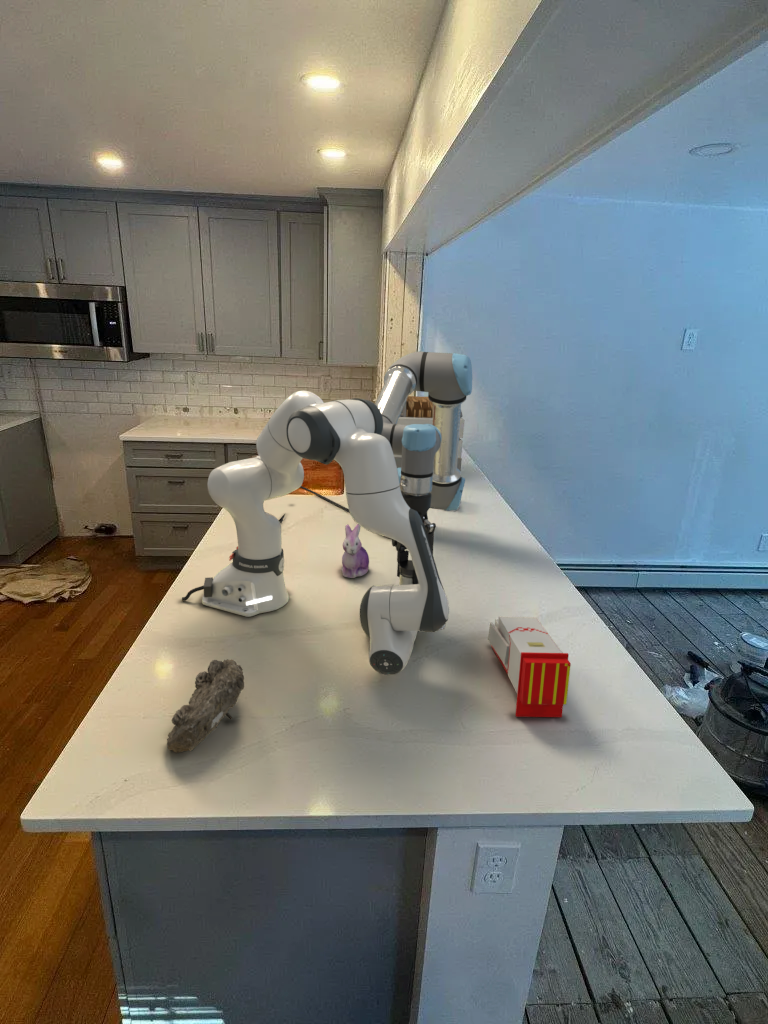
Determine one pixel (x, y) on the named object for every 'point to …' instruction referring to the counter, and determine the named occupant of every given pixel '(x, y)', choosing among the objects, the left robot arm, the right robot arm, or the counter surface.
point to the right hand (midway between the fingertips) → (409, 580)
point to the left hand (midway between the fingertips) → (409, 596)
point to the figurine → (354, 554)
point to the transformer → (423, 420)
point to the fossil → (206, 705)
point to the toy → (531, 665)
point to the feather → (281, 518)
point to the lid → (406, 567)
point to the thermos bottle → (405, 579)
